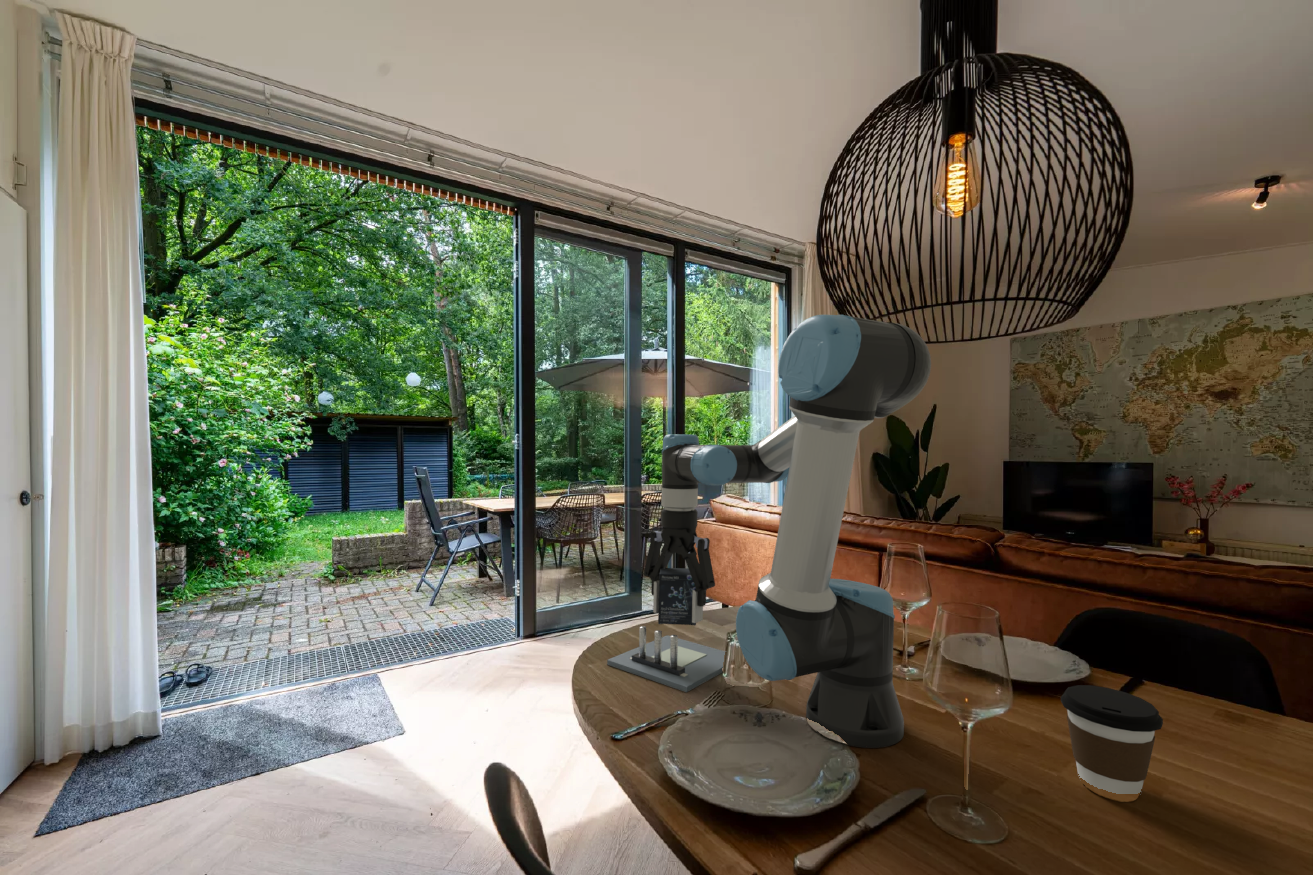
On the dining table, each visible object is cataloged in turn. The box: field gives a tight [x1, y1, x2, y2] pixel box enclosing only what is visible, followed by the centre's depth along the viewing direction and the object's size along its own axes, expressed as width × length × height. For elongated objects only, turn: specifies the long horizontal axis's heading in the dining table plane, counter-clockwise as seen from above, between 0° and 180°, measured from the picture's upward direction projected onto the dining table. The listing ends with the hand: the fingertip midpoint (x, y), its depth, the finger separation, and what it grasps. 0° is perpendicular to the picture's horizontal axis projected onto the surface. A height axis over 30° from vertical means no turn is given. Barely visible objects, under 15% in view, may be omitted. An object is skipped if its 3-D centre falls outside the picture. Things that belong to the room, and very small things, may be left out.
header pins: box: [632, 625, 685, 676], centre depth 117 cm, size 12×2×7 cm, turn 51°
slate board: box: [606, 634, 726, 693], centre depth 122 cm, size 20×20×1 cm
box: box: [657, 567, 697, 626], centre depth 122 cm, size 8×6×11 cm
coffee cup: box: [1060, 684, 1164, 794], centre depth 79 cm, size 11×11×12 cm
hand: (677, 616), depth 122 cm, fingers closed on box, 9 cm apart
